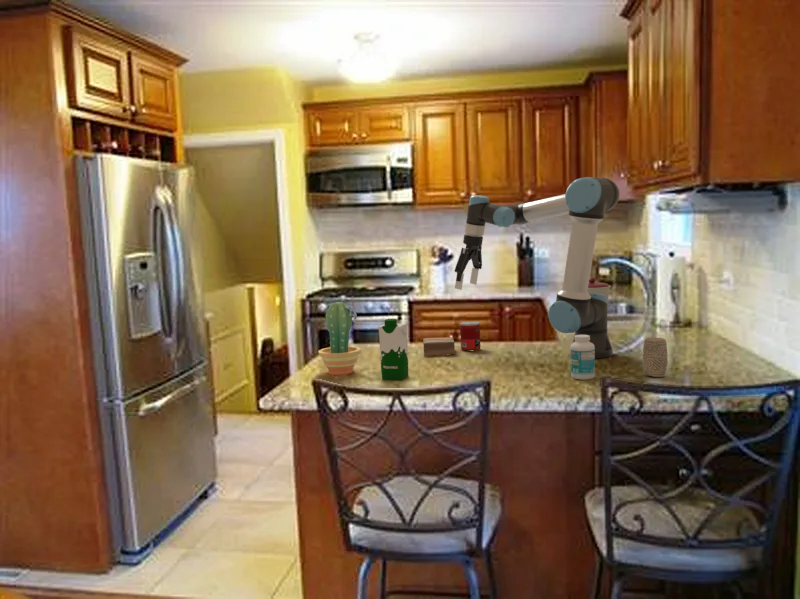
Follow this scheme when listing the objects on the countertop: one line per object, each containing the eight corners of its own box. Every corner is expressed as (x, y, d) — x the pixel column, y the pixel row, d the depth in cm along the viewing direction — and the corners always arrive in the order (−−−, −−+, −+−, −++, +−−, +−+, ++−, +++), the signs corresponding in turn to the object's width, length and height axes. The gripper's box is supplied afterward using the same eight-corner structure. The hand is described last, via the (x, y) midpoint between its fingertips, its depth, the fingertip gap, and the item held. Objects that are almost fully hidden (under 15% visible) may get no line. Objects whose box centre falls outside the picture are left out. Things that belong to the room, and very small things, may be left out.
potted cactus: (345, 378, 226) (341, 305, 224) (310, 374, 235) (305, 304, 232) (370, 369, 239) (367, 300, 237) (336, 366, 248) (332, 299, 245)
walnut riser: (454, 354, 259) (454, 341, 258) (424, 356, 259) (423, 343, 258) (453, 349, 271) (452, 336, 270) (423, 350, 271) (423, 338, 270)
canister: (609, 320, 328) (609, 278, 326) (572, 320, 335) (571, 279, 333) (612, 315, 345) (611, 275, 343) (576, 315, 352) (575, 276, 349)
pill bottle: (567, 375, 214) (566, 334, 213) (590, 374, 215) (589, 333, 213) (575, 381, 207) (574, 338, 205) (598, 379, 207) (598, 336, 206)
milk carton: (378, 380, 221) (375, 320, 219) (387, 374, 229) (385, 317, 227) (403, 381, 218) (400, 320, 216) (412, 375, 226) (409, 317, 224)
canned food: (479, 351, 264) (478, 324, 263) (459, 351, 265) (458, 324, 264) (481, 347, 271) (480, 321, 270) (461, 348, 273) (460, 321, 272)
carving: (671, 377, 205) (671, 339, 204) (648, 379, 205) (647, 340, 203) (662, 373, 212) (661, 336, 210) (639, 374, 211) (638, 337, 210)
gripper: (478, 230, 275) (470, 279, 280) (450, 235, 254) (443, 288, 260) (495, 233, 271) (487, 283, 277) (468, 239, 250) (460, 293, 256)
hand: (465, 286), depth 268 cm, fingers open, 13 cm apart
